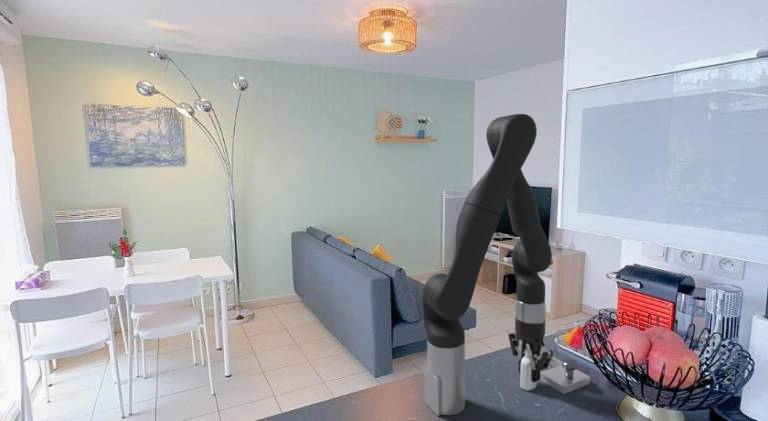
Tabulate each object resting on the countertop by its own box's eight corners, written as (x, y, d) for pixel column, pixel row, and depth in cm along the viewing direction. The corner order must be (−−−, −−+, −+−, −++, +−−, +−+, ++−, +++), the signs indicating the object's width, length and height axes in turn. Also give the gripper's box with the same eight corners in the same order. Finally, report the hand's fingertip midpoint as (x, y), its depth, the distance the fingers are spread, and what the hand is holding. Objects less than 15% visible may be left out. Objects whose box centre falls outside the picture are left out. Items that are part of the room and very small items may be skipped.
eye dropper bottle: (543, 388, 108) (543, 346, 106) (524, 392, 107) (524, 349, 105) (533, 380, 112) (533, 338, 110) (515, 383, 111) (515, 341, 109)
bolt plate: (563, 394, 105) (564, 371, 104) (518, 366, 119) (518, 346, 119) (589, 383, 110) (590, 362, 109) (543, 357, 124) (543, 338, 123)
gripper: (500, 310, 111) (499, 368, 114) (541, 329, 99) (539, 394, 101) (520, 304, 115) (519, 362, 117) (562, 322, 102) (560, 386, 104)
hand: (529, 376), depth 109 cm, fingers closed on eye dropper bottle, 3 cm apart
